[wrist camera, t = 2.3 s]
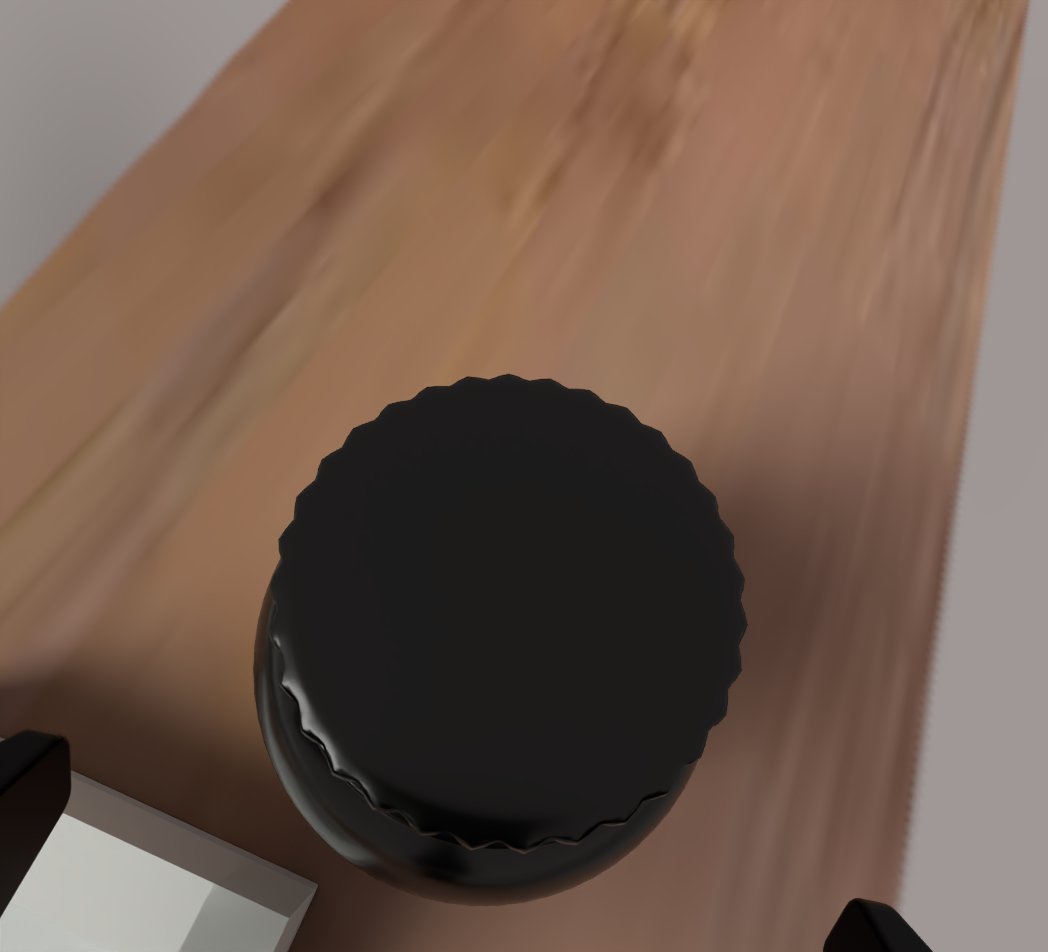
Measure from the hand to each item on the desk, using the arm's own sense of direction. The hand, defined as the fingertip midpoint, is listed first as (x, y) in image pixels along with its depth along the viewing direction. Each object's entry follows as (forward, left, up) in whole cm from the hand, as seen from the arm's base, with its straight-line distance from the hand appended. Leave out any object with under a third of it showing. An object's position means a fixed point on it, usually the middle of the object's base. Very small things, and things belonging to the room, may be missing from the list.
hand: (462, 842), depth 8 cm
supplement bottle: (+2, -1, -10) cm, 10 cm away
